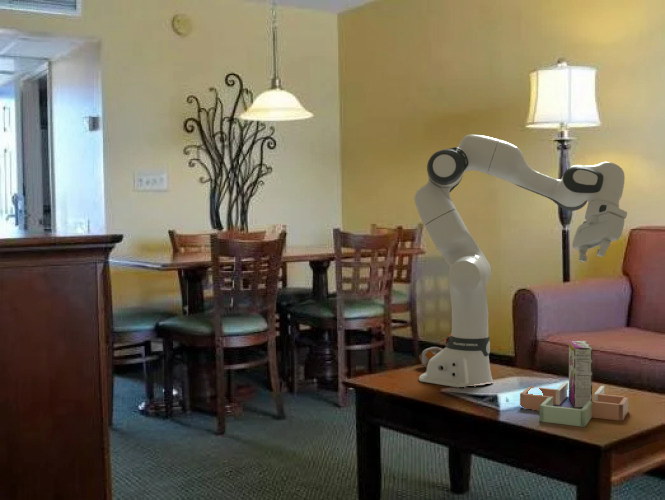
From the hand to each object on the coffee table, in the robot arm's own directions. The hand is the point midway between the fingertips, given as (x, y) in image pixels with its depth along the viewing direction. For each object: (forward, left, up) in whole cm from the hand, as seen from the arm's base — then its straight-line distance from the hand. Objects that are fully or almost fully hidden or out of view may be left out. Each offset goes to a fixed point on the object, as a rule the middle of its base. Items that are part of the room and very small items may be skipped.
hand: (591, 258), depth 230 cm
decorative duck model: (-50, +10, -39) cm, 64 cm away
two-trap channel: (0, -25, -39) cm, 46 cm away
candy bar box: (0, -16, -39) cm, 42 cm away
